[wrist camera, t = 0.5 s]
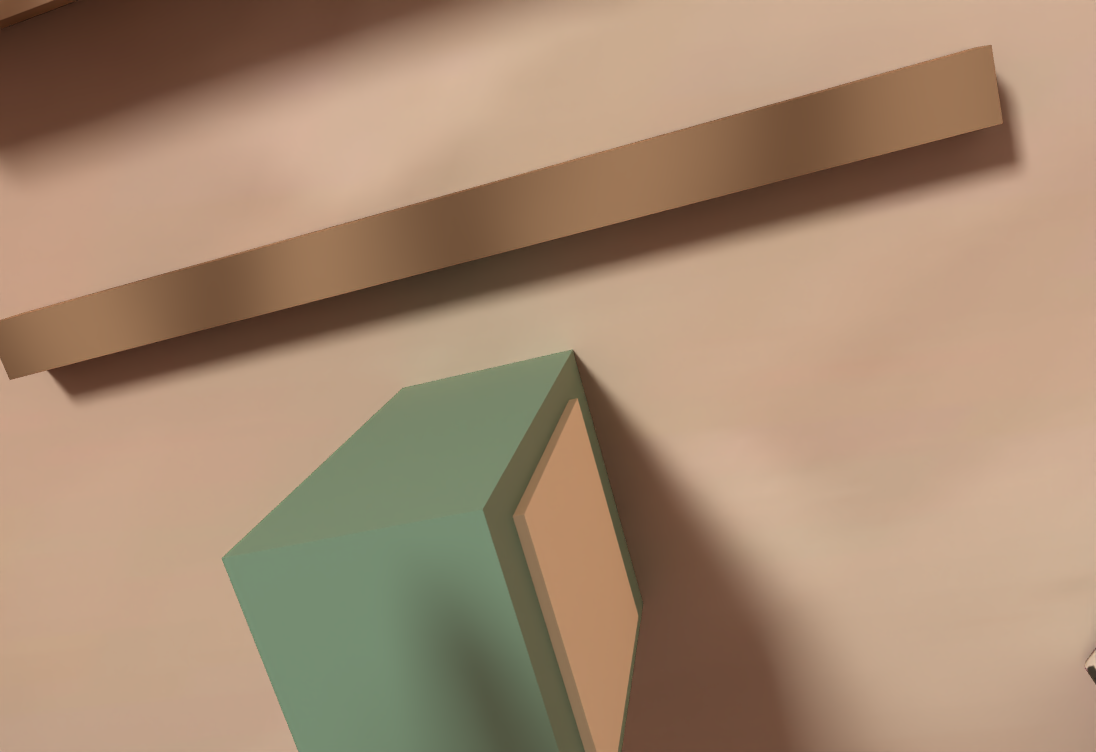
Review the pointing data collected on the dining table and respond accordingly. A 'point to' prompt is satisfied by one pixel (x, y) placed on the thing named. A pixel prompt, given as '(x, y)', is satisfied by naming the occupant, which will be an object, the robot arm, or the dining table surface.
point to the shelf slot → (514, 207)
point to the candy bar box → (1091, 665)
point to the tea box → (451, 576)
